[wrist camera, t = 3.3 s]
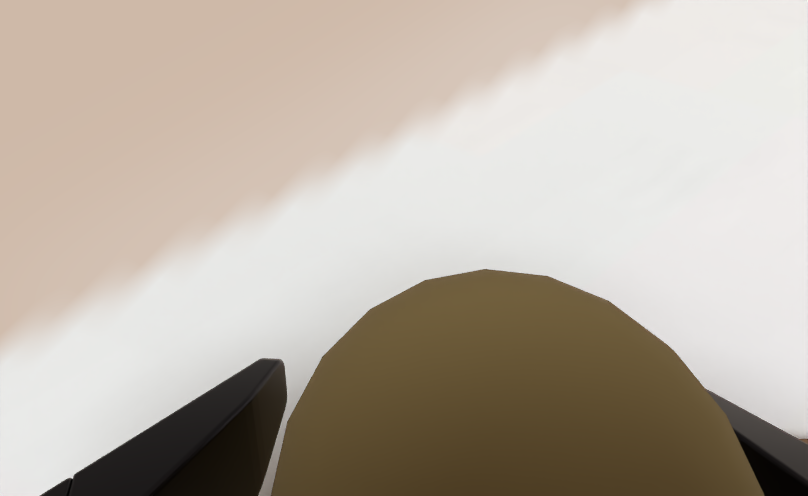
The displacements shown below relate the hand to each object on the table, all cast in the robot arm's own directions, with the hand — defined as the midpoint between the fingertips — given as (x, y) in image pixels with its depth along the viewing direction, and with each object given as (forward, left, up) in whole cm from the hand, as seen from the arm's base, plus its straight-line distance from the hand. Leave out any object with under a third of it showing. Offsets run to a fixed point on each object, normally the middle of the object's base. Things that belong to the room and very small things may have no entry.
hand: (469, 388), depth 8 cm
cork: (-1, +1, -7) cm, 7 cm away
